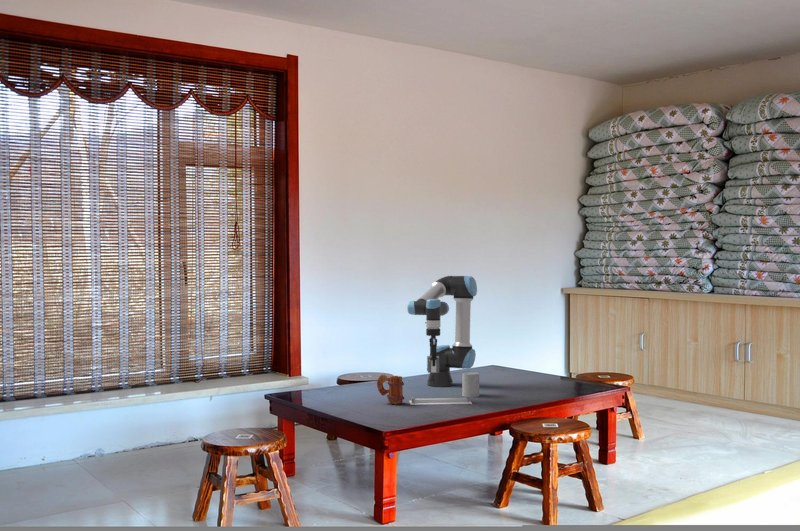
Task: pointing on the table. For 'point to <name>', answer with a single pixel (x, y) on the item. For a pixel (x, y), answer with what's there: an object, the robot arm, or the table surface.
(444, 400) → the rail panel
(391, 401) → the mug
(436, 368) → the block
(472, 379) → the light grey cylinder
